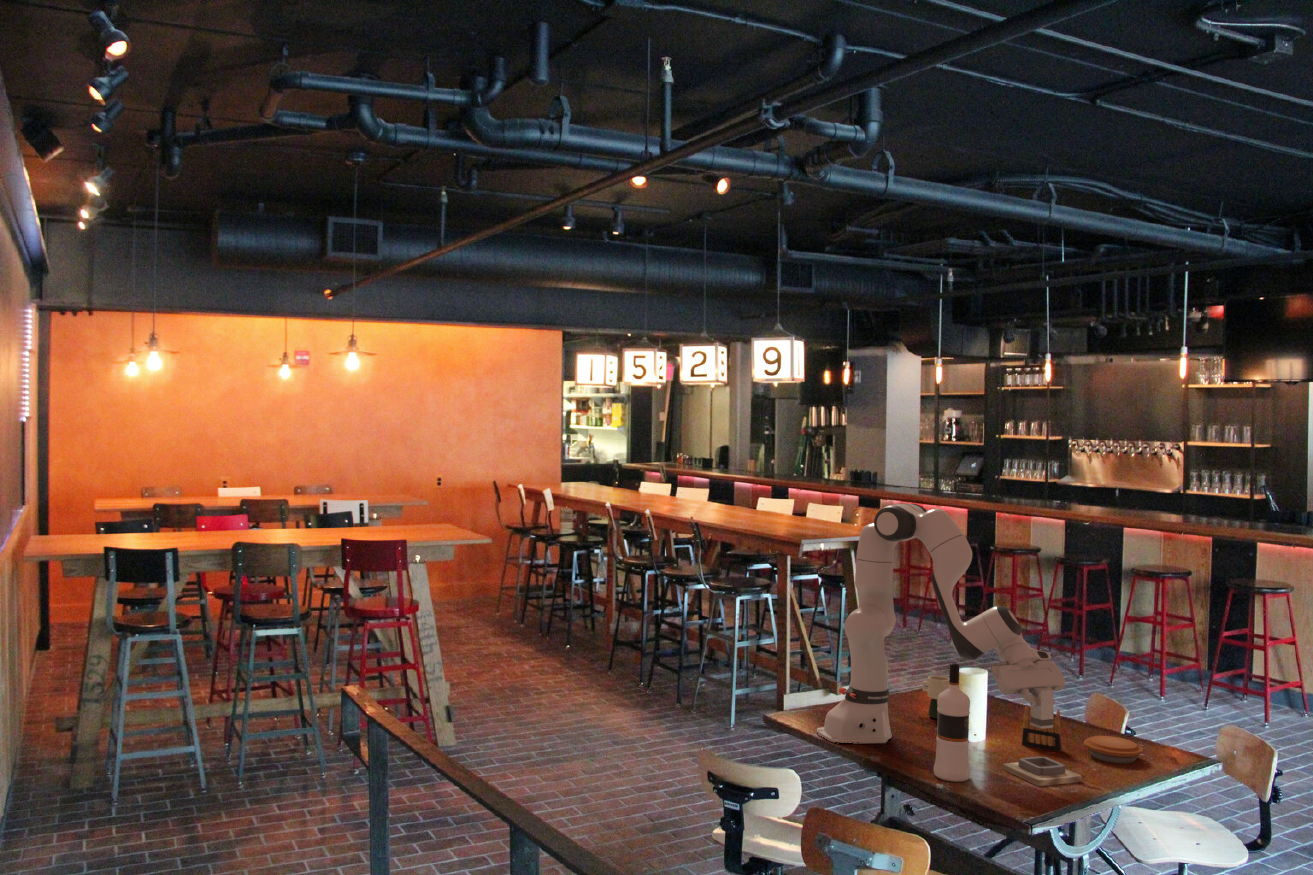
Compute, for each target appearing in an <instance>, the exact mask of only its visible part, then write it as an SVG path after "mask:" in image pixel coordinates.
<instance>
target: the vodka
mask: <svg viewBox="0 0 1313 875" xmlns="http://www.w3.org/2000/svg"><path fill="white" fill-rule="evenodd" d="M960 666H961V665H960V664H959V663H955V662H951V663H949V668H948V669H949V671H948V672H949V675H948V678H949V688H948V689H946V690H944V691H943V692H941V693H940V694H939V696H938V698H937V704H938V708H937V710H938V719H937V729H936V737H935V738H936V740H935V741H936V751H935V760H934V765H933V774H934V775H935V777H936V778H938V779H939V780H942V781H946V782H951V783H961V782H962V783H963V782H965V781H968V780H969V779H970V778H971V777H970V776H971V769H970V762H969V761H970V760H969V745H970V744H969V743H970V740H969V739H970V738H969V733H970V731H969V730H970V726H969V725H970V714H971V712H970V708H971V700H970V698H969V696H968V695H967V694H966V693H965V692H964V691H963V690H961V689H960Z"/></svg>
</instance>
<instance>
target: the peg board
mask: <svg viewBox="0 0 1313 875" xmlns="http://www.w3.org/2000/svg"><path fill="white" fill-rule="evenodd" d="M1002 770H1004V771H1006V772H1008V773H1009V774H1011V775H1015V777H1019V779H1020V778H1021V779H1022V780H1025V781H1026V782H1028V783H1031V784H1034V786H1037V787H1046V786H1054V785H1061V784H1062V785H1063V784H1072V783H1073V784H1074V783H1082V779H1083V776H1082V775H1080V774H1078V773H1076V772H1074V771H1071V770H1069V769H1066V764H1063V763H1060V761H1059V762H1058V761H1056V760H1053V759H1052V758H1050V757H1047V756H1042V755H1041V756H1029V757H1021V758H1019V759H1018V761H1017V762H1008V763H1002Z"/></svg>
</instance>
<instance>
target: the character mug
mask: <svg viewBox="0 0 1313 875" xmlns="http://www.w3.org/2000/svg"><path fill="white" fill-rule="evenodd" d="M926 685H927V687H926ZM921 687H922V692H927V697H928V698H931V699H930V701H929V707H928V708H929V709H928V712H927V713H928V714H927V715H928V716H929V717H931V718H932V719H936V720H938V710H937V708H938V704H937V698H938V696H939V694H940V693H941V692H943V691H944V690H946V689H948V688H949V676H943V675H929V676H928V677H927V681H926V680H924V681H922V686H921Z"/></svg>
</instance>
